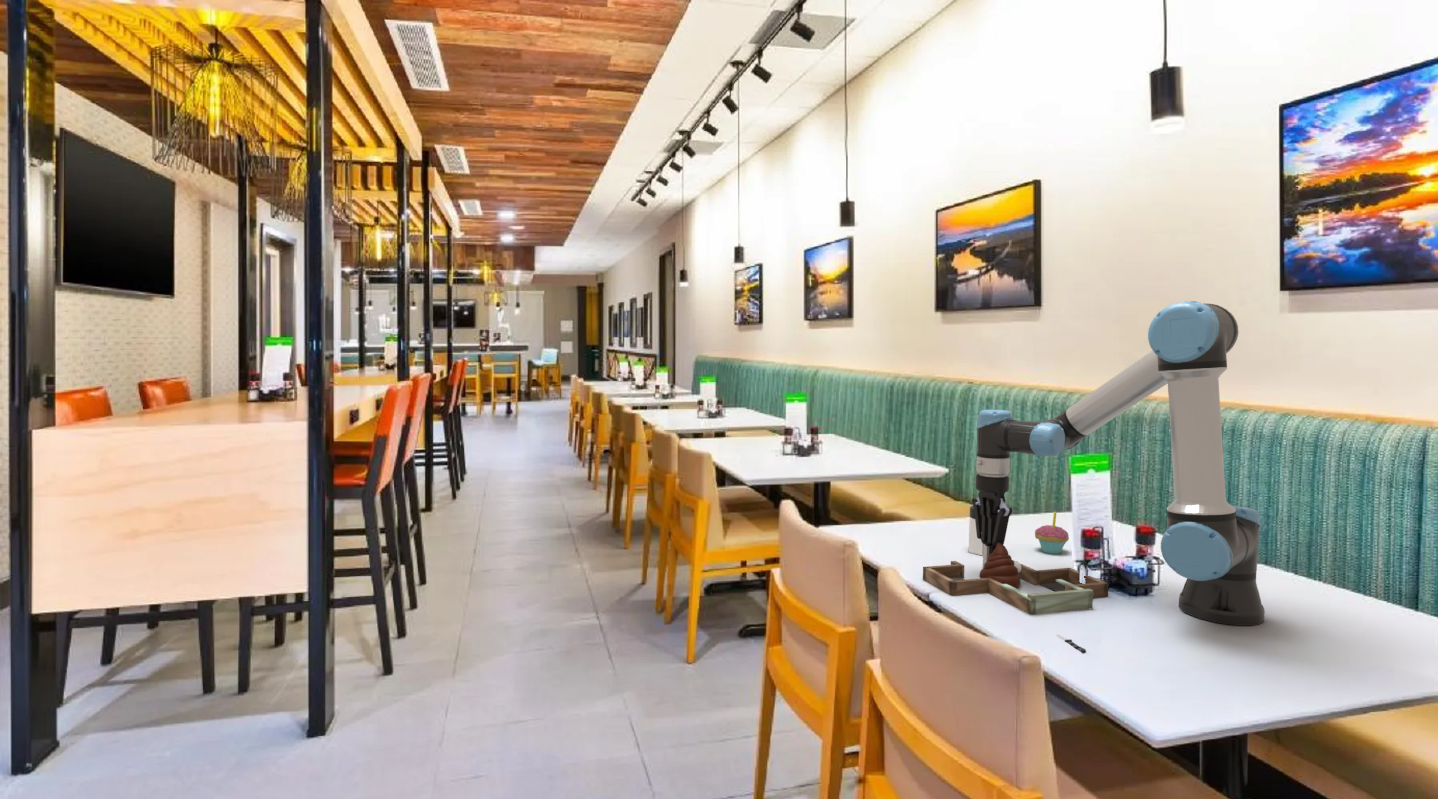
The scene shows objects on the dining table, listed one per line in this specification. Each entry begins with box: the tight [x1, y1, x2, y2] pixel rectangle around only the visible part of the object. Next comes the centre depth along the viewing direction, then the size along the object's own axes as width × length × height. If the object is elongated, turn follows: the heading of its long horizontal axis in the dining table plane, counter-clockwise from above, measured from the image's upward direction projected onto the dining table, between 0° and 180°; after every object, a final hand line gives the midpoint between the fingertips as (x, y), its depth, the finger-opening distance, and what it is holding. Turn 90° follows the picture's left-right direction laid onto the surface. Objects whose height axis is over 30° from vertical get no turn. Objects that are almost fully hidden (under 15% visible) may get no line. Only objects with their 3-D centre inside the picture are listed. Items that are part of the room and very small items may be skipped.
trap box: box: [922, 560, 1110, 616], centre depth 178 cm, size 30×34×4 cm
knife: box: [1055, 634, 1087, 654], centre depth 151 cm, size 19×2×1 cm, turn 16°
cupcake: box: [1034, 509, 1070, 555], centre depth 211 cm, size 9×8×12 cm
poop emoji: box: [979, 543, 1022, 588], centre depth 183 cm, size 10×8×9 cm
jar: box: [968, 505, 983, 557], centre depth 210 cm, size 9×8×12 cm
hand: (989, 570), depth 188 cm, fingers closed
